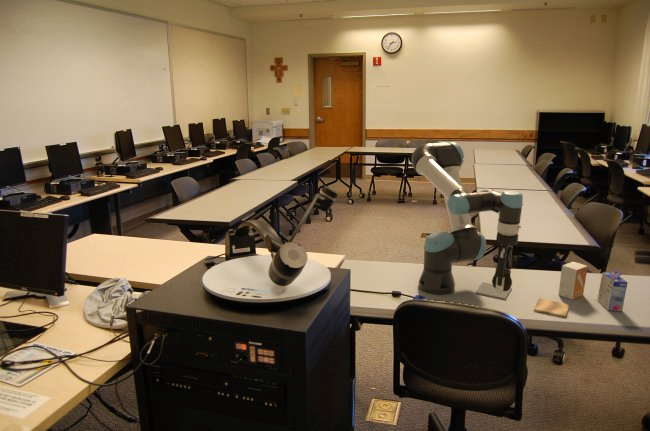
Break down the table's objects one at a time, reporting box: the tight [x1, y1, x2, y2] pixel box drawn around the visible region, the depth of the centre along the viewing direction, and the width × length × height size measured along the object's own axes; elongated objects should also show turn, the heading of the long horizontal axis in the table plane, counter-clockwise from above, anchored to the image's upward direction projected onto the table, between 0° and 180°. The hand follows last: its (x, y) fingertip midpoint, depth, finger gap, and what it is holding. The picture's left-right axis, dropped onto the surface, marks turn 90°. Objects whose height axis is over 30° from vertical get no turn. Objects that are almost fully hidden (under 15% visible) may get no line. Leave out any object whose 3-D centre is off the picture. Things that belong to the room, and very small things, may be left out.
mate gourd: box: [491, 266, 513, 291], centre depth 184 cm, size 7×8×10 cm
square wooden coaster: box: [533, 298, 570, 319], centre depth 186 cm, size 11×11×1 cm
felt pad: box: [475, 282, 512, 301], centre depth 201 cm, size 12×12×1 cm
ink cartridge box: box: [597, 269, 628, 312], centre depth 185 cm, size 10×6×14 cm, turn 174°
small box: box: [558, 261, 588, 301], centre depth 195 cm, size 8×6×13 cm
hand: (501, 288), depth 186 cm, fingers closed on mate gourd, 7 cm apart
